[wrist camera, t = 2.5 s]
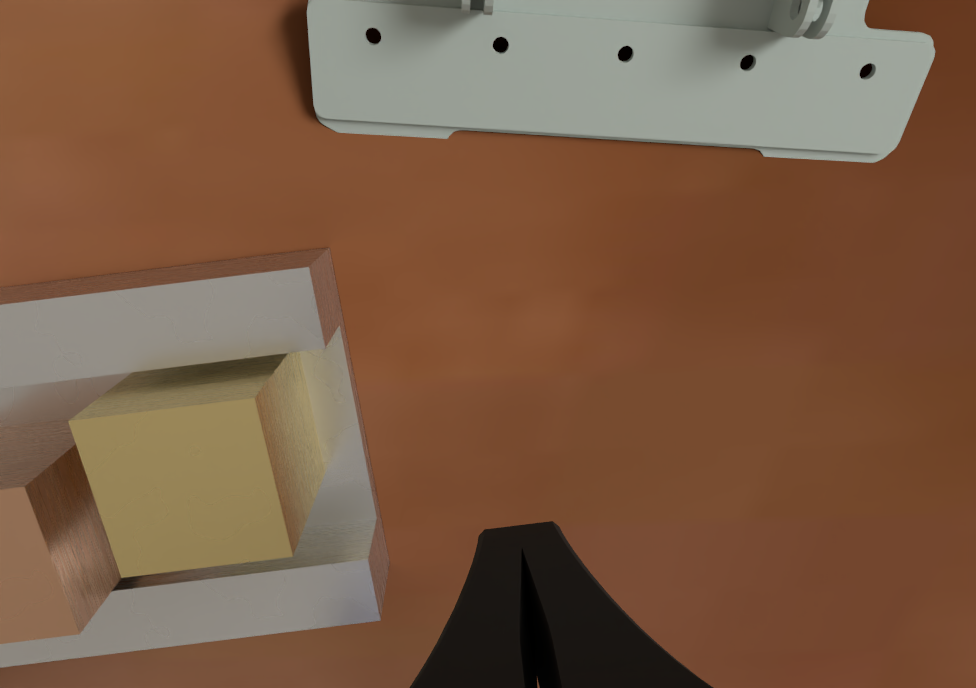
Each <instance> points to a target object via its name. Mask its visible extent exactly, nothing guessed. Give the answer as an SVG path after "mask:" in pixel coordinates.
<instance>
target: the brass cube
mask: <svg viewBox="0 0 976 688" xmlns="http://www.w3.org/2000/svg"><path fill="white" fill-rule="evenodd" d="M68 422H69V425H70V428H71V431H72V434H73V437H74V440H75V443H76V446H77V449H78V452H79V455H80V458H81V461H82V464H83V466H84V469H85V472H86V475H87V478H88V481H89V484H90V487H91V490H92V493H93V496H94V499H95V502H96V505H97V508H98V511H99V514H100V516H101V519H102V522H103V525H104V528H105V531H106V534H107V537H108V540H109V543H110V546H111V549H112V552H113V555H114V558H115V561H116V563H117V566H118V569H119V572H120V575H121V578H125V577H133V576H141V575H149V574H157V573H165V572H173V571H181V570H189V569H197V568H206V567H214V566H222V565H230V564H238V563H246V562H254V561H262V560H270V559H278V558H286V557H293V555H294V553H295V550H296V547H297V545H298V542H299V540H300V537H301V535H302V532H303V529H304V527H305V524H306V522H307V519H308V516H309V514H310V511H311V509H312V506H313V503H314V501H315V498H316V496H317V493H318V490H319V488H320V485H321V483H322V480H323V477H324V475H325V468H324V463H323V458H322V454H321V449H320V444H319V440H318V435H317V430H316V426H315V421H314V417H313V412H312V407H311V403H310V398H309V393H308V389H307V384H306V379H305V375H304V370H303V365H302V361H301V356H300V352H293V353H285V354H277V355H268V356H260V357H252V358H244V359H236V360H228V361H220V362H212V363H203V364H195V365H187V366H179V367H171V368H163V369H155V370H147V371H138V372H132V373H131V374H130V375H128V376H127V377H126V378H124V379H123V380H122V381H120V382H119V383H118V384H116V385H115V386H114V387H112V388H111V389H110V390H108V391H107V392H106V393H105V394H103V395H102V396H101V397H99V398H98V399H97V400H95V401H94V402H93V403H91V404H90V405H89V406H87V407H86V408H85V409H83V410H82V411H81V412H79V413H78V414H77V415H75V416H74V417H73V418H71V419H70V420H69V421H68Z"/></svg>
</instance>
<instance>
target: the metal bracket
mask: <svg viewBox="0 0 976 688" xmlns="http://www.w3.org/2000/svg"><path fill="white" fill-rule="evenodd" d="M868 2H869V0H308V7H307V23H308V37H309V51H310V64H311V78H312V92H313V105H314V109H315V112H316V116H317V118H318V120H319V121H320V122H321V123H322V124H323V125H325V126H327V127H329V128H330V129H332V130H334V131H336V132H338V133H356V134H373V135H391V136H409V137H427V138H444V139H448V137H449V135H451V134H452V133H453V132H454V131H458V130H470V131H486V132H501V133H517V134H533V135H549V136H564V137H580V138H596V139H612V140H628V141H643V142H659V143H675V144H691V145H706V146H722V147H738V148H754V149H757V150H759V151H760V152H761V153H762V155H763V156H764V157H782V158H800V159H817V160H835V161H853V162H871V163H874V162H876V161H879V160H881V159H883V158H885V157H886V156H887V155H888V154H889V153H890V152H891V151H893V150H894V149H895V148H896V146H897V145H898V143H899V141H900V139H901V136H902V134H903V131H904V129H905V127H906V124H907V122H908V119H909V117H910V115H911V112H912V110H913V107H914V105H915V103H916V100H917V98H918V95H919V93H920V90H921V88H922V86H923V83H924V81H925V78H926V76H927V74H928V71H929V69H930V66H931V64H932V62H933V59H934V56H935V49H934V47H933V40H932V38H931V36H929V35H926V34H924V33H921V32H909V31H896V30H883V29H870V28H868V27H867V26H866V24H865V22H864V17H865V11H866V8H867V5H868ZM368 28H376V29H378V31H379V32H380V34H381V41H380V42H379V43H376V44H373V43H370V42H369V41H368V40H367V38H366V31H367V30H368ZM497 37H504V38H506V39H507V41H508V44H509V45H508V48H507V50H505V51H504V52H501V53H499V52H496V51H495V50H494V48H493V42H494V40H495V39H496V38H497ZM623 46H629V47H631V48H632V55H631V58H629V59H628V60H627V61H620V60H619V59H618V52H619V50H620V49H621V48H622V47H623ZM746 55H752V56H753V64H752V65H751V67H749V68H748V69H745V70H742V69H741V68H740V62H741V60H742V58H743V57H745V56H746ZM869 63H871V65H872V71H871V72H870V74H869V75H868V76H866V77H864V78H861V77H860V70H861V69H862V67H863V66H864V65H866V64H869Z"/></svg>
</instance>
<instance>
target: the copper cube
mask: <svg viewBox="0 0 976 688" xmlns="http://www.w3.org/2000/svg"><path fill="white" fill-rule="evenodd" d="M70 419H71V418H68V419H60V420H52V421H44V422H36V423H27V424H19V425H11V426H3V427H0V644H6V643H14V642H22V641H30V640H38V639H46V638H54V637H62V636H70V635H78V634H80V633H81V632H82V631H83V629H84V628H85V626H86V625H87V624H88V622H89V621H90V620H91V618H92V617H93V616H94V614H95V613H96V612H97V610H98V609H99V608H100V606H101V605H102V604H103V602H104V601H105V600H106V598H107V597H108V596H109V594H110V593H111V592H112V590H113V589H114V588H115V586H116V585H117V584H118V582H119V581H120V580H121V575H120V572H119V569H118V566H117V563H116V561H115V558H114V555H113V552H112V549H111V546H110V543H109V540H108V537H107V534H106V531H105V528H104V525H103V522H102V519H101V516H100V514H99V511H98V508H97V505H96V502H95V499H94V496H93V493H92V490H91V487H90V484H89V481H88V478H87V475H86V472H85V469H84V466H83V464H82V461H81V458H80V455H79V452H78V449H77V446H76V443H75V440H74V437H73V434H72V431H71V428H70V425H69V422H68V421H69V420H70Z"/></svg>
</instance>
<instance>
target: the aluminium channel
mask: <svg viewBox="0 0 976 688" xmlns="http://www.w3.org/2000/svg"><path fill="white" fill-rule="evenodd" d="M293 352H300V356H301V361H302V365H303V370H304V375H305V379H306V384H307V389H308V393H309V398H310V403H311V407H312V412H313V417H314V421H315V426H316V430H317V435H318V440H319V444H320V449H321V454H322V458H323V463H324V468H325V475H324V477H323V480H322V483H321V485H320V488H319V490H318V493H317V496H316V498H315V501H314V503H313V506H312V509H311V511H310V514H309V516H308V519H307V522H306V524H305V527H304V529H303V532H302V535H301V537H300V540H299V542H298V545H297V547H296V550H295V553H294V555H293V557H286V558H278V559H270V560H262V561H254V562H246V563H238V564H230V565H222V566H214V567H206V568H197V569H189V570H181V571H173V572H165V573H157V574H149V575H141V576H133V577H125V578H121V580H120V581H119V582H118V584H117V585H116V586H115V588H114V589H113V590H112V592H111V593H110V594H109V596H108V597H107V598H106V600H105V601H104V602H103V604H102V605H101V606H100V608H99V609H98V610H97V612H96V613H95V614H94V616H93V617H92V618H91V620H90V621H89V622H88V624H87V625H86V626H85V628H84V629H83V631H82V632H81V633H80V634H78V635H70V636H62V637H54V638H46V639H38V640H30V641H22V642H14V643H6V644H0V668H1V667H9V666H17V665H25V664H33V663H41V662H49V661H57V660H66V659H74V658H82V657H90V656H98V655H106V654H114V653H122V652H130V651H138V650H146V649H154V648H162V647H170V646H178V645H187V644H195V643H203V642H211V641H219V640H227V639H235V638H243V637H251V636H259V635H267V634H275V633H283V632H291V631H299V630H308V629H316V628H324V627H332V626H340V625H348V624H356V623H364V622H372V621H380V620H381V613H382V607H383V601H384V594H385V588H386V582H387V576H388V569H389V563H390V562H389V557H388V552H387V546H386V541H385V536H384V531H383V526H382V520H381V515H380V510H379V505H378V499H377V494H376V489H375V484H374V478H373V473H372V468H371V463H370V457H369V452H368V447H367V442H366V436H365V431H364V426H363V421H362V415H361V410H360V405H359V400H358V394H357V389H356V384H355V379H354V373H353V368H352V363H351V358H350V353H349V347H348V342H347V337H346V332H345V326H344V321H343V316H342V311H341V305H340V300H339V295H338V290H337V284H336V279H335V274H334V269H333V263H332V258H331V253H330V248H321V249H313V250H305V251H297V252H289V253H281V254H272V255H264V256H256V257H248V258H240V259H232V260H224V261H215V262H207V263H199V264H191V265H183V266H175V267H166V268H158V269H150V270H142V271H134V272H126V273H118V274H109V275H101V276H93V277H85V278H77V279H69V280H61V281H52V282H44V283H36V284H28V285H20V286H12V287H4V288H0V427H3V426H11V425H19V424H27V423H36V422H44V421H52V420H60V419H68V418H73V417H74V416H75V415H77V414H78V413H79V412H81V411H82V410H83V409H85V408H86V407H87V406H89V405H90V404H91V403H93V402H94V401H95V400H97V399H98V398H99V397H101V396H102V395H103V394H105V393H106V392H107V391H108V390H110V389H111V388H112V387H114V386H115V385H116V384H118V383H119V382H120V381H122V380H123V379H124V378H126V377H127V376H128V375H130V374H131V373H132V372H138V371H147V370H155V369H163V368H171V367H179V366H187V365H195V364H203V363H212V362H220V361H228V360H236V359H244V358H252V357H260V356H268V355H277V354H285V353H293Z"/></svg>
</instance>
